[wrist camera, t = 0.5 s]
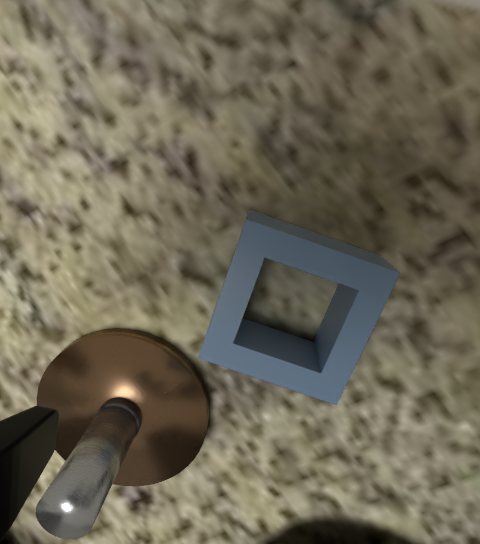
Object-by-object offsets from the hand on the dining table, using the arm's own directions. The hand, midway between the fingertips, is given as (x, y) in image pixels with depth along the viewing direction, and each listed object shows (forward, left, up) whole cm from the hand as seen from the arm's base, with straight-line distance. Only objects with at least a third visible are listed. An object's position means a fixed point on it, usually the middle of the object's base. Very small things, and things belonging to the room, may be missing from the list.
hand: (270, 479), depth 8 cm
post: (+5, +9, -12) cm, 15 cm away
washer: (-1, 0, -12) cm, 12 cm away
